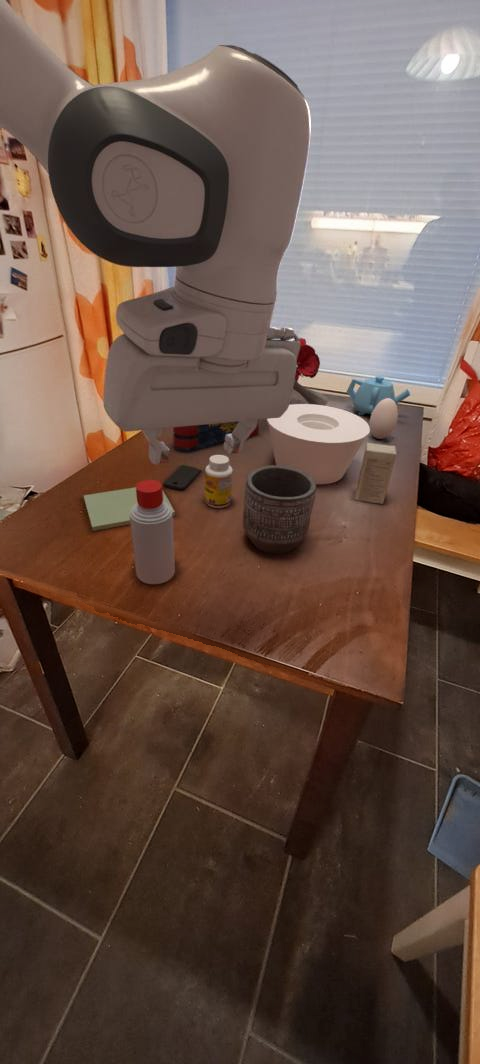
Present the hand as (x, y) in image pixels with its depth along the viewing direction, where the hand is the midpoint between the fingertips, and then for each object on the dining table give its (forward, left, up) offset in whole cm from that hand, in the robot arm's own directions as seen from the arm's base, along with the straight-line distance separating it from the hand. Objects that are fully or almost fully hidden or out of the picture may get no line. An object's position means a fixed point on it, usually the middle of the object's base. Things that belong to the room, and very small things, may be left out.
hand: (196, 455), depth 46 cm
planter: (+20, +14, -27) cm, 36 cm away
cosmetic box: (+48, +21, -27) cm, 59 cm away
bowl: (+43, +38, -27) cm, 64 cm away
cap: (-3, +13, -11) cm, 17 cm away
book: (+26, +60, -27) cm, 71 cm away
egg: (+73, +48, -27) cm, 92 cm away
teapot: (+85, +66, -27) cm, 111 cm away
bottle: (-3, +13, -27) cm, 30 cm away
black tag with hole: (+11, +42, -27) cm, 51 cm away
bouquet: (+56, +77, -27) cm, 99 cm away
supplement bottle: (+15, +30, -27) cm, 43 cm away
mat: (-3, +34, -27) cm, 43 cm away
